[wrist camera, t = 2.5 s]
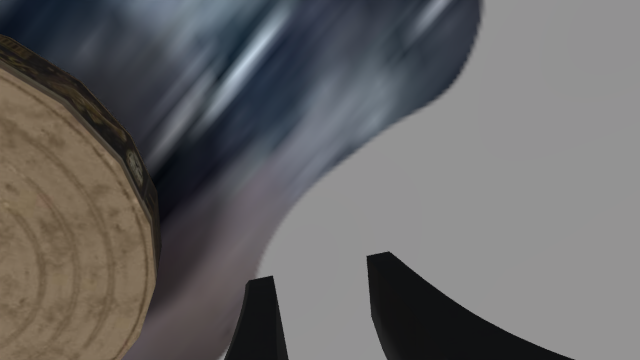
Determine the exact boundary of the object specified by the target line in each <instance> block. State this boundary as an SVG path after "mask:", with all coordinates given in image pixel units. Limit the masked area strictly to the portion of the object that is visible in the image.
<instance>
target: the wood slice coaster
mask: <svg viewBox="0 0 640 360" xmlns="http://www.w3.org/2000/svg"><path fill="white" fill-rule="evenodd" d="M161 246H162V245H161V233H160V221H159V208H158V196H157V190H156V188H155V186H154V184H153V182H152V180H151V178H150V175H149V173H148V171H147V169H146V167H145V165H144V163H143V160H142V158H141V156H140V154H139V152H138V150H137V147H136V145H135V143H134V141H133V139H132V137H131V135H130V134H129V133H128V132H127V131H126V130H125V129H124V127H123V126H122V125H121V124H120V123H119V122H118V121H117V120H116V119H115V118H114V117H113V115H112V114H111V113H110V112H109V111H108V110H107V109H106V108H105V107H104V106H103V105H102V104H101V102H100V101H99V100H98V99H97V98H96V97H95V96H94V95H93V94H92V93H91V92H90V91H89V89H88V88H87V87H86V86H85V85H84V84H83V83H82V82H81V81H79V80H78V79H76V78H75V77H73V76H71V75H70V74H68V73H67V72H65V71H63V70H62V69H60V68H58V67H57V66H55V65H54V64H52V63H50V62H49V61H47V60H46V59H44V58H42V57H41V56H39V55H38V54H36V53H34V52H33V51H31V50H29V49H28V48H26V47H25V46H23V45H21V44H20V43H18V42H17V41H15V40H13V39H12V38H10V37H7V36H4V35H1V34H0V360H121V359H122V358H123V356H124V355H125V354H126V353H127V351H128V350H129V349H130V348H131V346H132V345H133V344H134V343H135V341H136V340H137V339H138V338H139V336H140V333H141V330H142V326H143V323H144V320H145V317H146V314H147V311H148V307H149V304H150V301H151V298H152V295H153V291H154V288H155V285H156V279H157V272H158V266H159V259H160V252H161Z"/></svg>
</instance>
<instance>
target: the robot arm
mask: <svg viewBox="0 0 640 360" xmlns="http://www.w3.org/2000/svg"><path fill="white" fill-rule="evenodd" d="M367 268H368V280H369V293H370V304H371V317H372V320H373V323H374V326H375V328H376V331H377V334H378V338H379V340H380V343H381V346H382V349H383V351H384V353H385V356H386V358H387V360H574V359H571V358H568V357H565V356H563V355H560V354H557V353H555V352H552V351H550V350H547V349H545V348H542V347H540V346H537V345H535V344H533V343H531V342H528V341H526V340H524V339H521V338H519V337H517V336H515V335H513V334H511V333H508V332H507V331H505V330H503V329H501V328H499V327H497V326H495V325H493V324H492V323H490V322H488V321H486V320H484V319H482V318H480V317H479V316H477V315H475V314H473V313H472V312H470V311H469V310H467V309H465V308H464V307H462V306H461V305H459V304H458V303H456V302H455V301H453V300H452V299H450V298H449V297H447V296H446V295H445V294H443V293H442V292H441V291H439V290H438V289H436V288H435V287H434V286H432V285H431V284H430V283H428V282H427V281H426V280H424V279H423V278H422V277H420V276H419V275H418V274H416V273H415V272H414V271H413V270H412V269H410V268H409V267H408V266H407V265H405V264H404V263H403V262H402V261H401V260H399V259H398V258H397V257H396V256H394V255H393V254H392V253H390V252H384V253H379V254H374V255H369V256H367ZM224 360H289V359H288V355H287V349H286V344H285V338H284V332H283V327H282V322H281V316H280V311H279V305H278V300H277V294H276V289H275V284H274V279H273V276H268V277H263V278H258V279H254V280H249V281H248V283H247V284H246V287H245V295H244V301H243V305H242V309H241V313H240V317H239V320H238V323H237V326H236V329H235V332H234V335H233V338H232V341H231V344H230V346H229V349H228V351H227V354H226V356H225V359H224Z"/></svg>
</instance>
